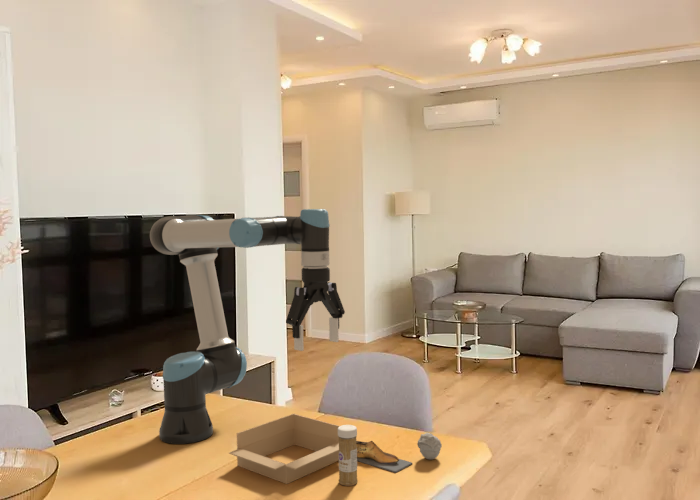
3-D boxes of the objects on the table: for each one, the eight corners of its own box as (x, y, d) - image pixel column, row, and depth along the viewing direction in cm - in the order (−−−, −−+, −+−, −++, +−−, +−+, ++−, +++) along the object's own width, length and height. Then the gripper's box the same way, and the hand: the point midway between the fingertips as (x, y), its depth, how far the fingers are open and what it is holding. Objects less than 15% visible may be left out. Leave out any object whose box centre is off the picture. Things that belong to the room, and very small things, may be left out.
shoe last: (394, 467, 167) (394, 448, 167) (349, 456, 175) (348, 438, 175) (403, 461, 171) (402, 443, 170) (358, 451, 178) (358, 433, 178)
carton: (228, 469, 169) (227, 436, 168) (294, 443, 186) (293, 413, 186) (286, 491, 155) (285, 455, 154) (351, 461, 172) (351, 428, 172)
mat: (343, 456, 175) (343, 455, 175) (361, 449, 181) (361, 447, 181) (395, 472, 164) (395, 471, 164) (412, 464, 169) (412, 462, 169)
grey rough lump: (412, 460, 172) (412, 434, 171) (426, 452, 177) (426, 426, 177) (433, 466, 168) (432, 438, 168) (446, 457, 174) (446, 430, 173)
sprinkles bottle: (334, 483, 159) (333, 427, 158) (347, 477, 162) (346, 422, 161) (349, 488, 156) (348, 431, 155) (362, 481, 159) (360, 426, 158)
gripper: (291, 271, 167) (293, 356, 168) (356, 263, 185) (357, 339, 187) (271, 270, 172) (273, 351, 173) (336, 262, 190) (337, 336, 192)
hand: (316, 345), depth 180 cm, fingers open, 13 cm apart
